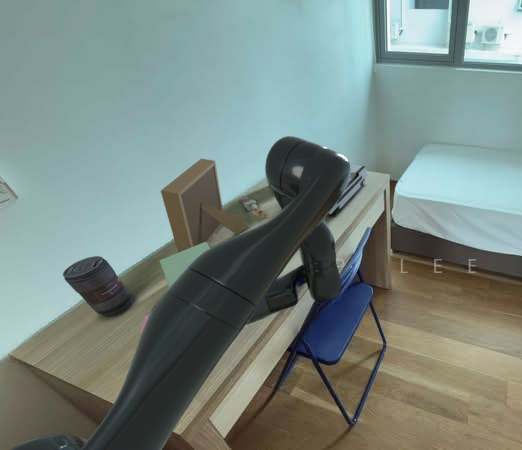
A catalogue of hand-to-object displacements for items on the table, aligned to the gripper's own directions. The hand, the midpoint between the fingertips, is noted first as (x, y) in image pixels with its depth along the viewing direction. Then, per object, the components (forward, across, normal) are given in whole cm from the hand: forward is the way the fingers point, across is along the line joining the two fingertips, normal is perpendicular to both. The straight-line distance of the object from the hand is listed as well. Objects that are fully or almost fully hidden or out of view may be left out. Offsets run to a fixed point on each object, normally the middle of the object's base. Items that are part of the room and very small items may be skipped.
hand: (150, 338), depth 59 cm
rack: (-3, -28, +13) cm, 31 cm away
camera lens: (+17, -30, +13) cm, 37 cm away
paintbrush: (-20, -65, +10) cm, 69 cm away
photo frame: (-8, -50, +13) cm, 52 cm away
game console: (-49, -59, +13) cm, 78 cm away
